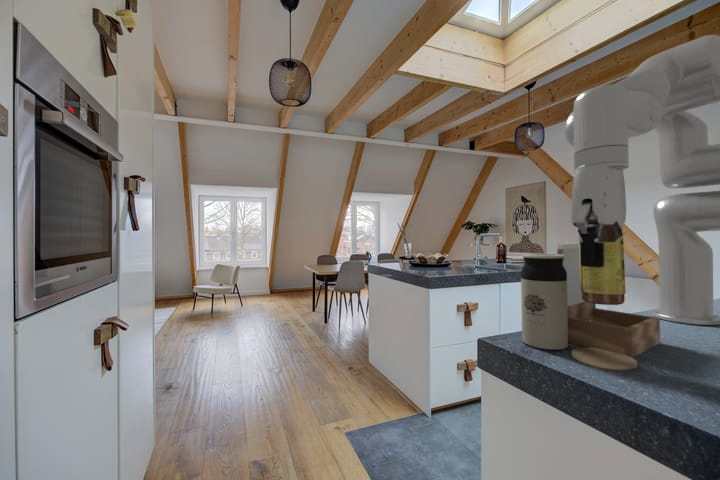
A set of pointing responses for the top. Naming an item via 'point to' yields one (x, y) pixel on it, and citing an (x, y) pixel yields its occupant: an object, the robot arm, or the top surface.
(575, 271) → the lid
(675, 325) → the top surface
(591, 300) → the sauce bottle
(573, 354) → the disc
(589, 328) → the wooden open box
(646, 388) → the top surface
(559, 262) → the stoneware storage canister
